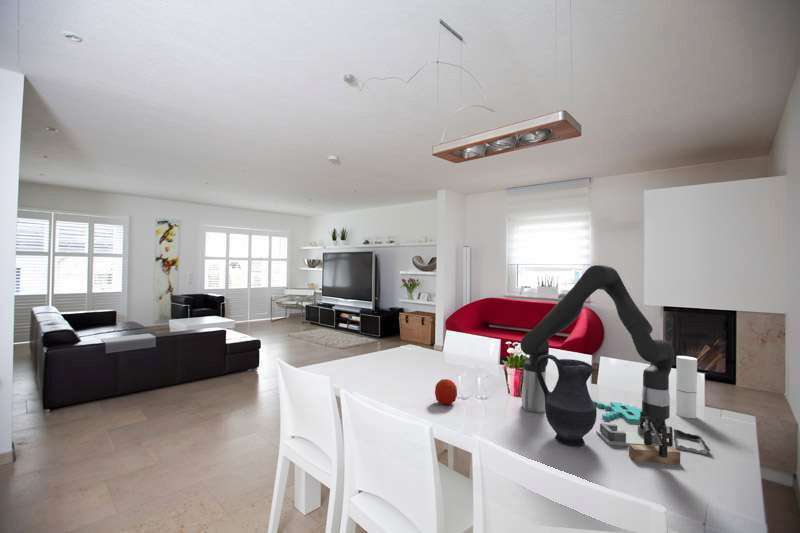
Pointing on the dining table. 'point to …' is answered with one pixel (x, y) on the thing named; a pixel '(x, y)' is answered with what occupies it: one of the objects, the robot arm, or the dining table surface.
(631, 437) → the cradle board
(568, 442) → the pitcher
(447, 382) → the apple
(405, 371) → the dining table surface
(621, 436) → the end caps
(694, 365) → the cylindrical container
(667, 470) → the dining table surface
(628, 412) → the alien figure
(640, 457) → the slat
